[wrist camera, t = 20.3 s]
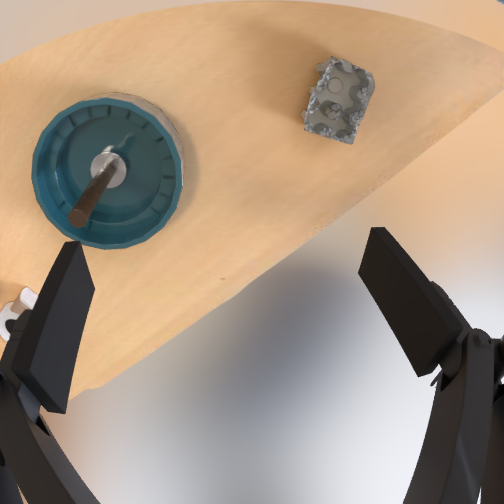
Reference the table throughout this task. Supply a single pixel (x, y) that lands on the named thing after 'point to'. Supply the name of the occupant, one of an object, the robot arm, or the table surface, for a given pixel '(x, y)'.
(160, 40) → the table surface
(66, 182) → the bowl
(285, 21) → the table surface
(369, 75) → the egg carton
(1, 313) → the record player
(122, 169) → the brown rod
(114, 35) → the table surface
